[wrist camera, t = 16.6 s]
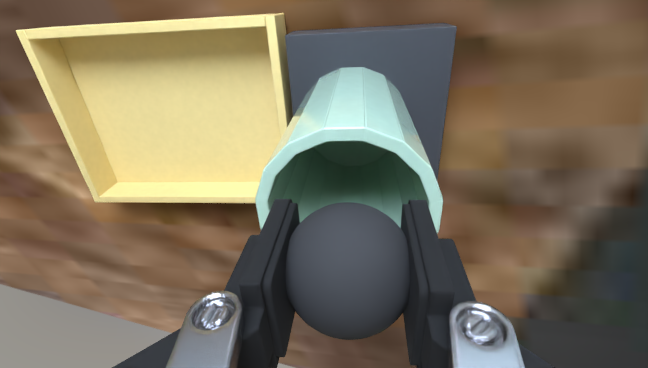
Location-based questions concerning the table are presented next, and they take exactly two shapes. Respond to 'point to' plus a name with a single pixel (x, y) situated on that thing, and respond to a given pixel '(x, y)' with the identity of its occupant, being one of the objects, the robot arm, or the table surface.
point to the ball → (348, 270)
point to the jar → (350, 151)
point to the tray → (168, 104)
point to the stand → (383, 68)
